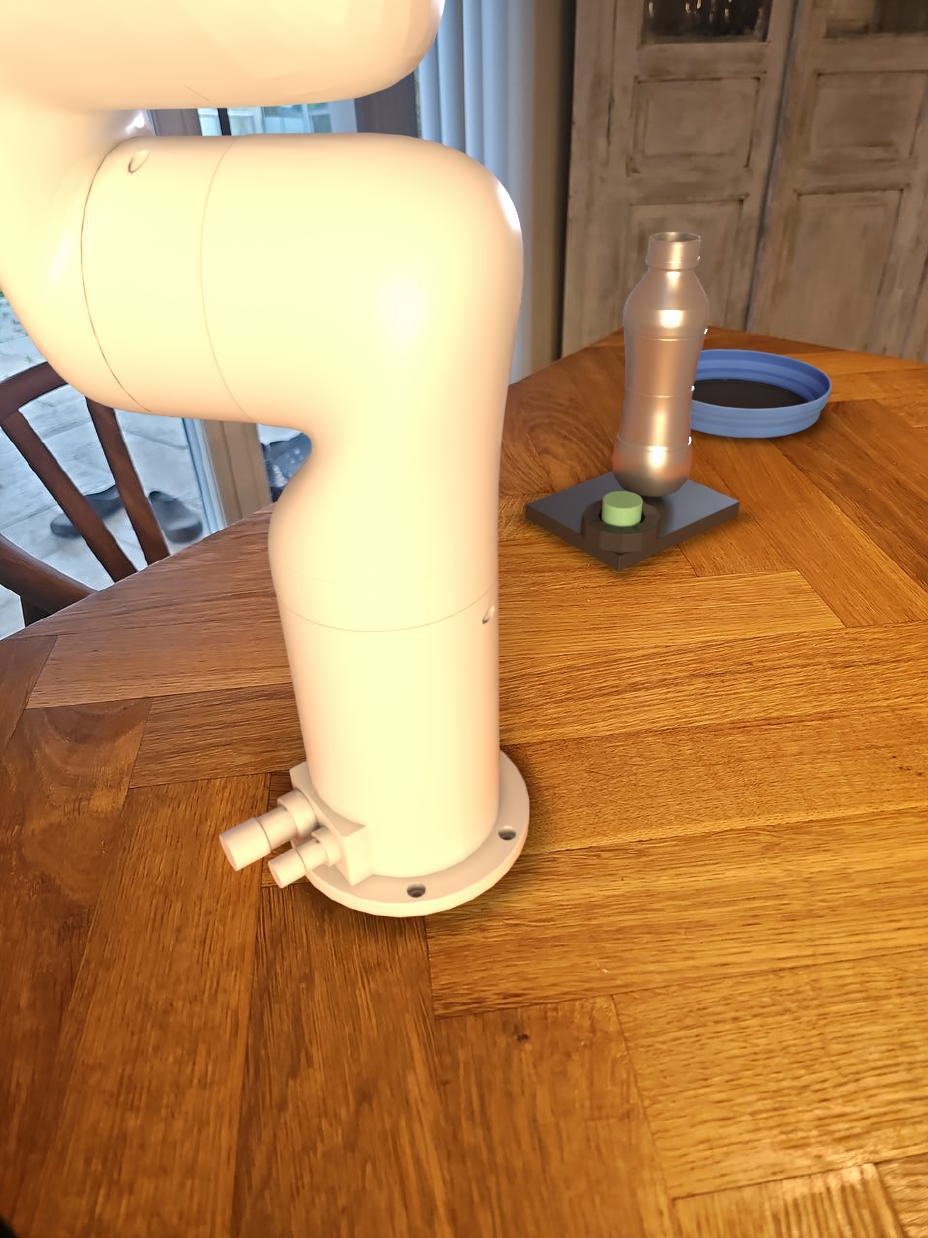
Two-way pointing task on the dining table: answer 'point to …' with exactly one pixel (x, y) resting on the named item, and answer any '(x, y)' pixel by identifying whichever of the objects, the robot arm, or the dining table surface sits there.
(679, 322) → the silver metal bottle
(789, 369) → the bowl
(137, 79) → the robot arm
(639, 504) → the button
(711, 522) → the scale
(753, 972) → the dining table surface
